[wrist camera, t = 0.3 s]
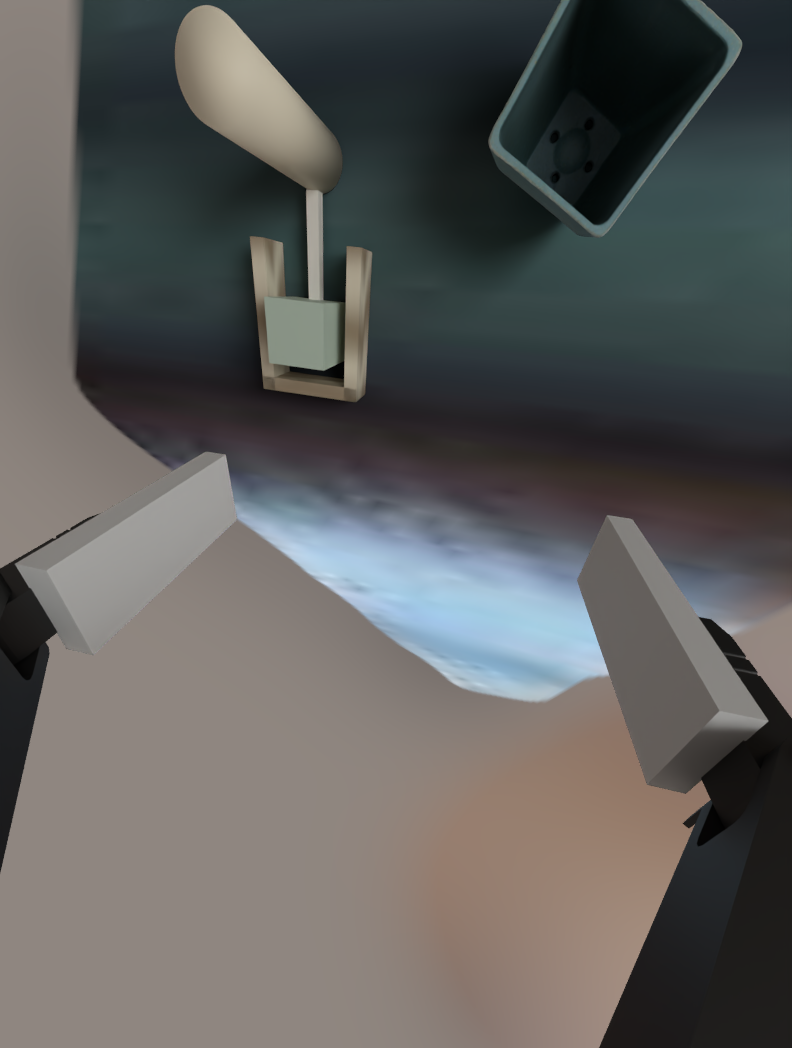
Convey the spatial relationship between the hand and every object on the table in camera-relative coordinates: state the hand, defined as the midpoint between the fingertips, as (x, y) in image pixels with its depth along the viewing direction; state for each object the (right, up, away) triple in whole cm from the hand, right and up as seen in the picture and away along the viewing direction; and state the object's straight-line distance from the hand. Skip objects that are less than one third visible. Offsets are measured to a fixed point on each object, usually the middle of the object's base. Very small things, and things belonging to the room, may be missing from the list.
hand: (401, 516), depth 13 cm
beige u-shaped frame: (-7, +19, +23) cm, 31 cm away
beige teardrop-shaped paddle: (-7, +23, +20) cm, 31 cm away
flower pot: (+12, +27, +14) cm, 33 cm away
